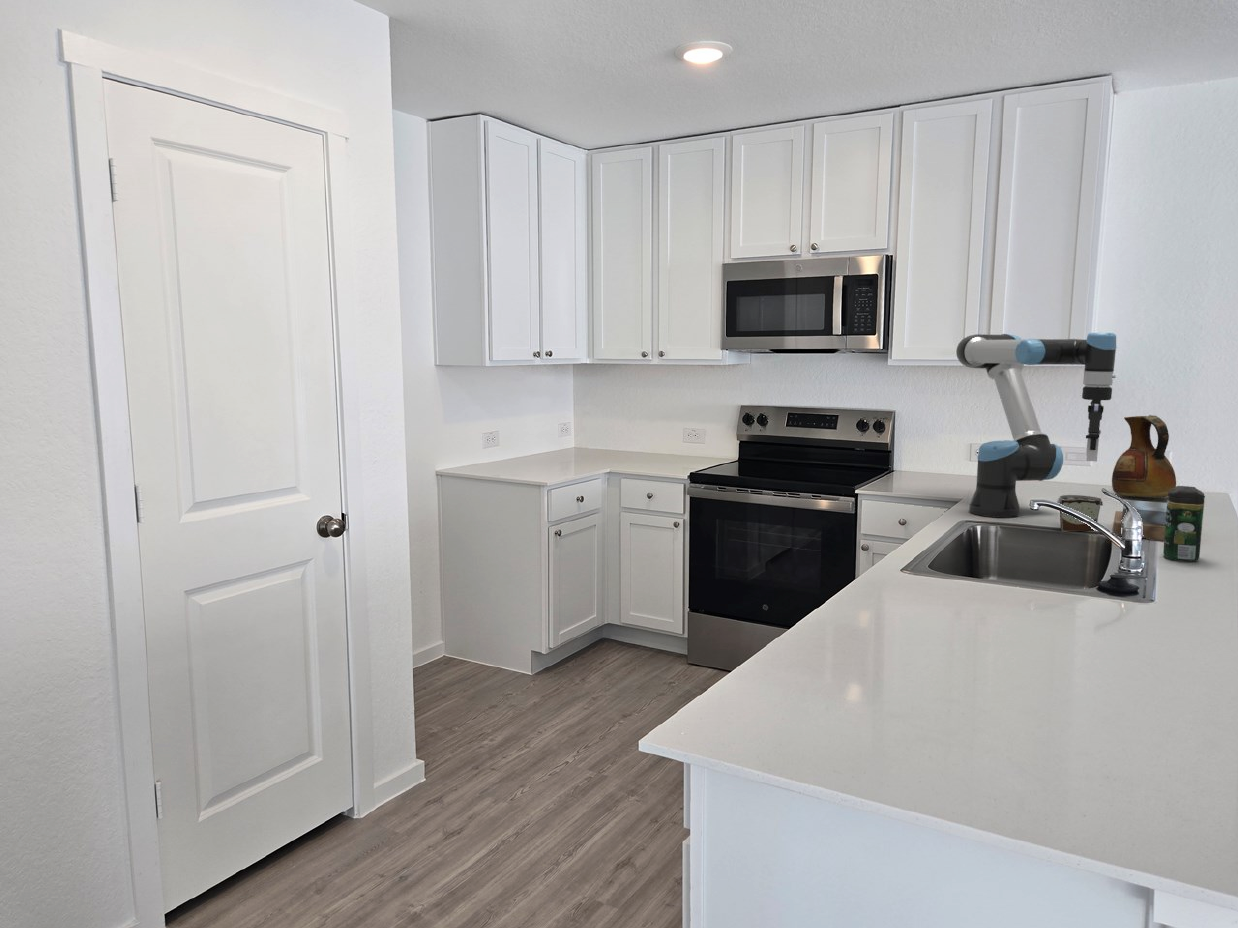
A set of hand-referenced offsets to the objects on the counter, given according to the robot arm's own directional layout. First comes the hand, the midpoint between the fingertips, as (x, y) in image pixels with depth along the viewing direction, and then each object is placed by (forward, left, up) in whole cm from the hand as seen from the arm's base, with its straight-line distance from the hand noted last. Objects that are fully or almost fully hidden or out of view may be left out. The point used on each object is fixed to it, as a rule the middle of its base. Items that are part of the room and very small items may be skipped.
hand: (1091, 458), depth 254 cm
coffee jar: (+23, -28, -21) cm, 42 cm away
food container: (-3, -4, -21) cm, 22 cm away
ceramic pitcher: (+14, +69, -21) cm, 74 cm away
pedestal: (+17, +2, -21) cm, 27 cm away
